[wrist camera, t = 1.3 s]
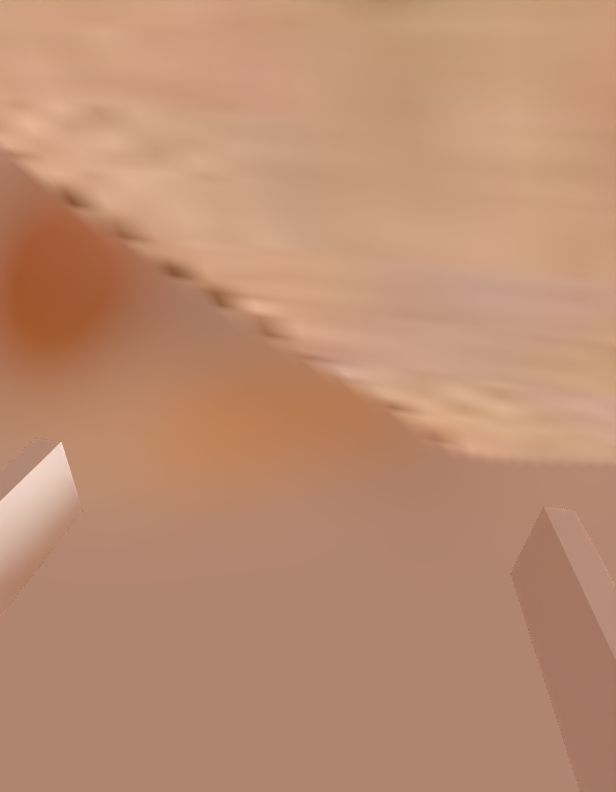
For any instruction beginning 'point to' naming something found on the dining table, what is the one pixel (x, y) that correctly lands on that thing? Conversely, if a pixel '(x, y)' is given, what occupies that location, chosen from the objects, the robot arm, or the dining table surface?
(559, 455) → the dining table surface
